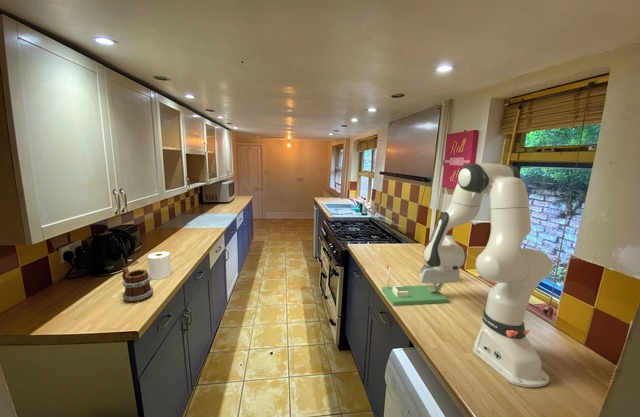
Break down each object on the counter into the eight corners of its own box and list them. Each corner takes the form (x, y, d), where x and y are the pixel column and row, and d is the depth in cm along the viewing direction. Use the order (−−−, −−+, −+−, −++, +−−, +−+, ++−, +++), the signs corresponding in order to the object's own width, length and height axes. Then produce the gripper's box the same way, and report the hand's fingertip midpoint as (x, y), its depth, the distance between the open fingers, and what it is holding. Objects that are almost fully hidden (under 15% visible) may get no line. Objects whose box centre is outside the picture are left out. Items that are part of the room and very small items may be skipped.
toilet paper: (145, 279, 138) (143, 258, 136) (156, 271, 148) (154, 251, 146) (164, 279, 138) (163, 258, 136) (174, 271, 149) (173, 251, 146)
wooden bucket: (135, 306, 114) (128, 273, 112) (115, 303, 119) (107, 272, 117) (160, 293, 124) (153, 263, 122) (140, 291, 130) (134, 263, 128)
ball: (437, 292, 131) (436, 286, 130) (430, 294, 130) (429, 288, 130) (433, 289, 134) (432, 283, 133) (427, 291, 134) (426, 285, 133)
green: (447, 302, 126) (451, 276, 124) (392, 305, 122) (395, 278, 119) (429, 287, 141) (432, 263, 139) (380, 289, 137) (382, 264, 135)
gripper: (424, 267, 125) (421, 293, 128) (463, 266, 128) (459, 292, 131) (418, 262, 131) (415, 287, 134) (455, 261, 134) (451, 286, 137)
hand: (437, 289), depth 132 cm, fingers closed
